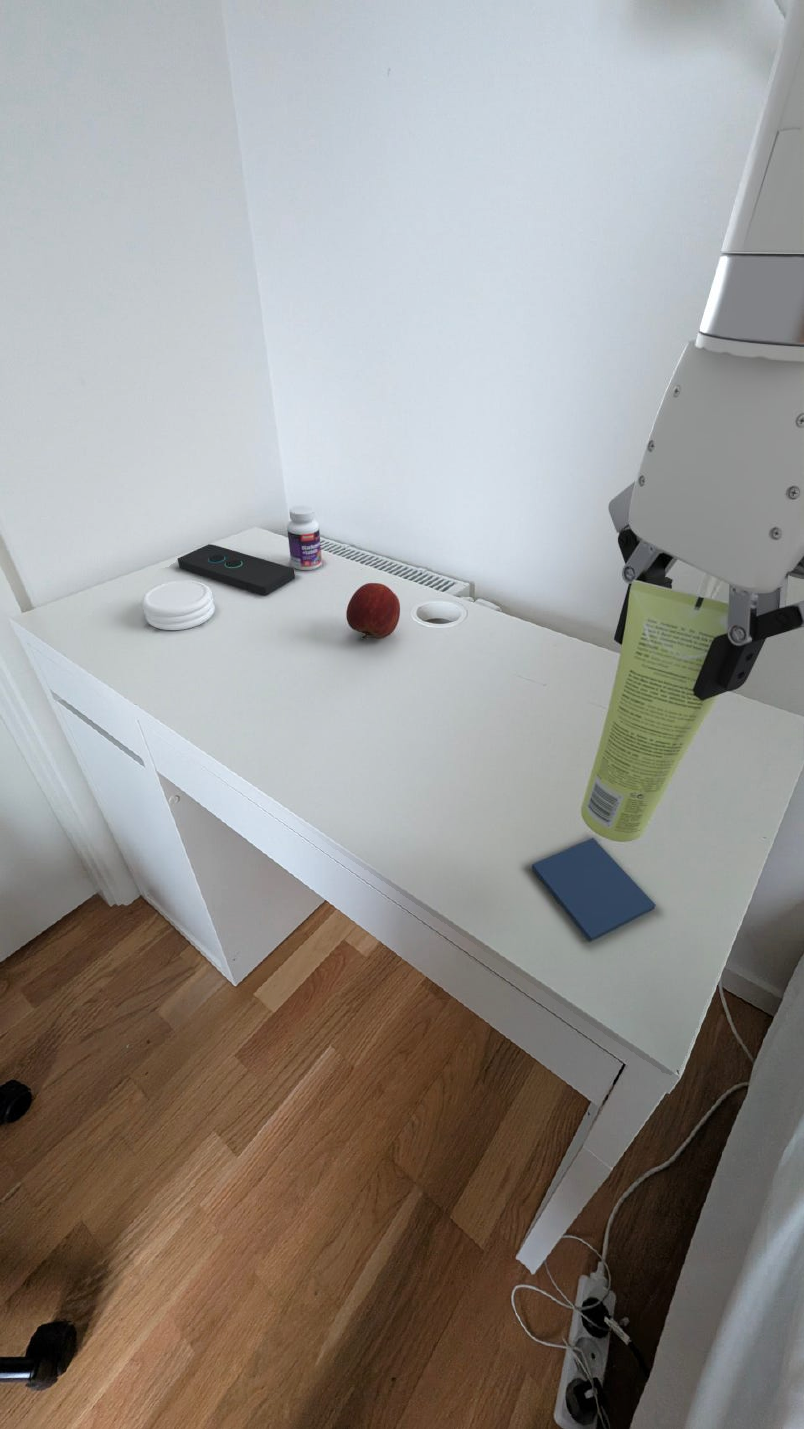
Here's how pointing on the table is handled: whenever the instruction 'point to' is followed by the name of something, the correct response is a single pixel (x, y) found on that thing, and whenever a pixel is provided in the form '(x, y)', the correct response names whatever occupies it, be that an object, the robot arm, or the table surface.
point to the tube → (651, 706)
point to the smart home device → (237, 569)
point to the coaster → (178, 605)
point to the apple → (373, 610)
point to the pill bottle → (304, 539)
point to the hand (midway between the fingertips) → (672, 661)
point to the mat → (592, 888)
